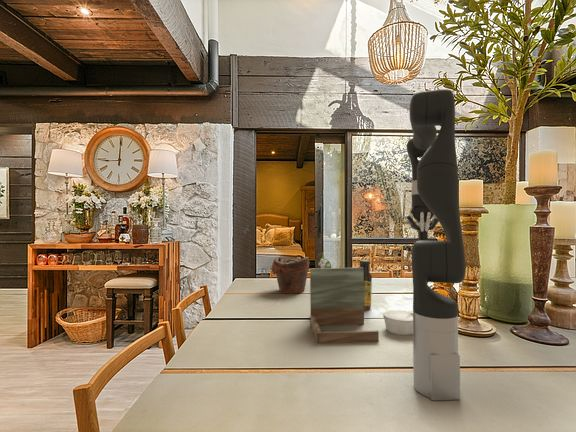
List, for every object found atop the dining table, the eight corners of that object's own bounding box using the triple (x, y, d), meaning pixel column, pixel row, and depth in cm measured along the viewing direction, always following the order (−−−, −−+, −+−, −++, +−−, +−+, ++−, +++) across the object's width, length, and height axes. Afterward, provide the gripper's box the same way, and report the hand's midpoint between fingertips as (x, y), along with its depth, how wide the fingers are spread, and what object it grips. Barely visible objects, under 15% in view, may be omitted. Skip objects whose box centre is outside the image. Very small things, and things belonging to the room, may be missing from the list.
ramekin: (424, 336, 107) (424, 320, 107) (389, 337, 107) (389, 320, 107) (411, 324, 118) (411, 310, 118) (379, 325, 118) (379, 310, 118)
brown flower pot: (267, 288, 177) (267, 254, 177) (303, 285, 183) (303, 253, 183) (276, 296, 160) (276, 259, 160) (315, 293, 166) (315, 257, 166)
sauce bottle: (355, 309, 137) (355, 261, 136) (356, 305, 143) (355, 259, 143) (372, 310, 135) (371, 261, 135) (371, 306, 141) (371, 259, 141)
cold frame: (378, 341, 103) (378, 276, 103) (317, 343, 102) (316, 277, 102) (363, 323, 120) (362, 267, 120) (310, 324, 119) (310, 268, 119)
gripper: (409, 192, 115) (409, 243, 115) (446, 192, 116) (446, 242, 116) (400, 194, 123) (400, 241, 123) (435, 193, 124) (435, 240, 124)
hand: (423, 241), depth 120 cm, fingers closed
